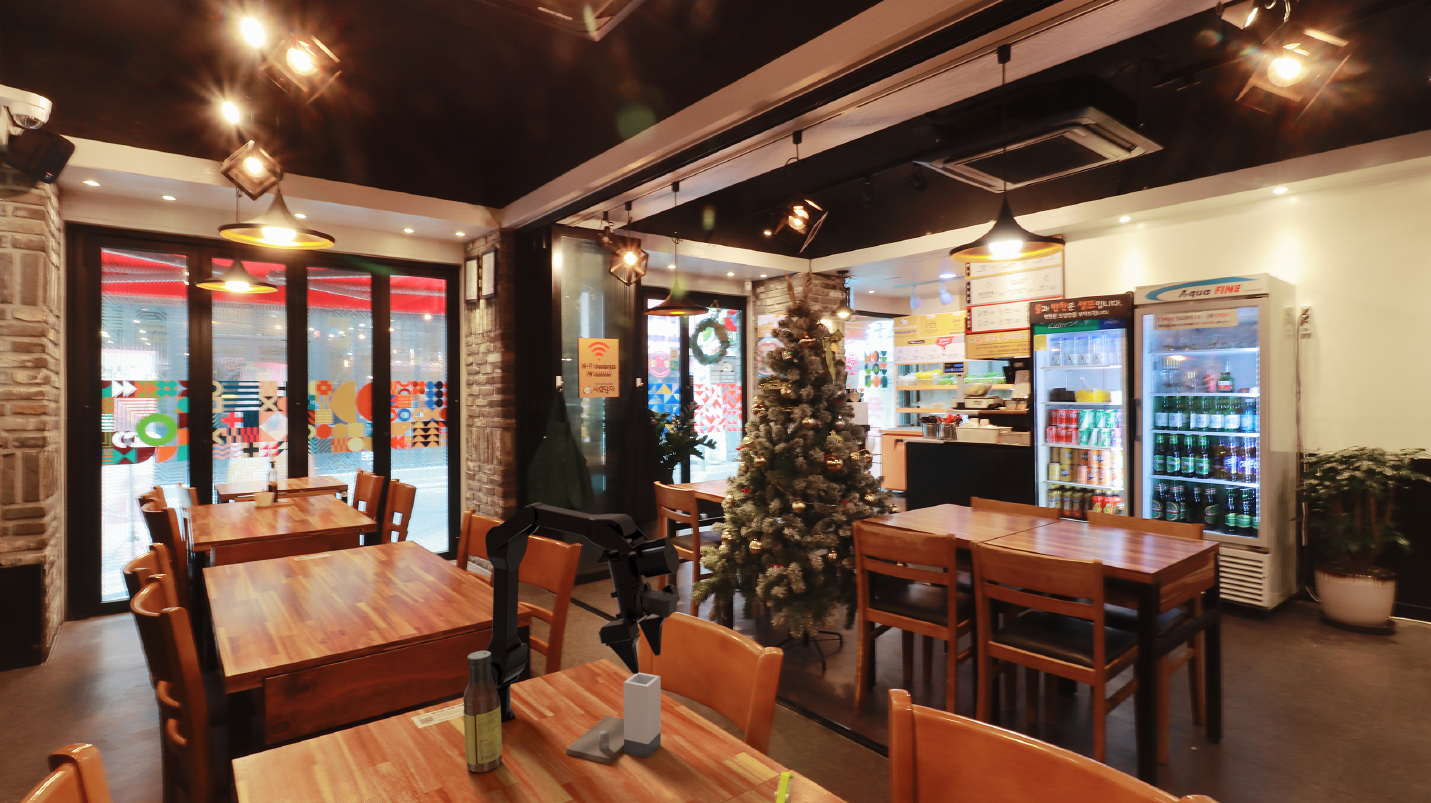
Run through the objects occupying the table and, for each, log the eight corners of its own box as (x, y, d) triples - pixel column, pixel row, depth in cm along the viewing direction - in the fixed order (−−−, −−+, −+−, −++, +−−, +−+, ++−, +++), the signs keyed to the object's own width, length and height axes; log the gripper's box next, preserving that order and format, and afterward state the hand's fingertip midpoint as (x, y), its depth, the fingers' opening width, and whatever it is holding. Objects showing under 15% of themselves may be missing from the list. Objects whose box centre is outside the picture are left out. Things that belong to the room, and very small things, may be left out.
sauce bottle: (507, 756, 126) (507, 648, 125) (493, 775, 119) (492, 661, 119) (473, 755, 126) (472, 647, 126) (457, 773, 120) (456, 660, 120)
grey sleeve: (623, 752, 127) (623, 682, 127) (637, 739, 132) (636, 672, 132) (648, 758, 125) (647, 686, 125) (660, 745, 130) (660, 676, 130)
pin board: (566, 754, 127) (566, 732, 127) (606, 720, 139) (606, 700, 139) (608, 764, 123) (608, 741, 123) (646, 728, 136) (646, 708, 136)
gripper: (643, 588, 119) (664, 678, 118) (685, 563, 136) (704, 641, 135) (588, 598, 123) (608, 685, 122) (636, 572, 140) (654, 648, 139)
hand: (647, 664), depth 129 cm, fingers open, 9 cm apart
